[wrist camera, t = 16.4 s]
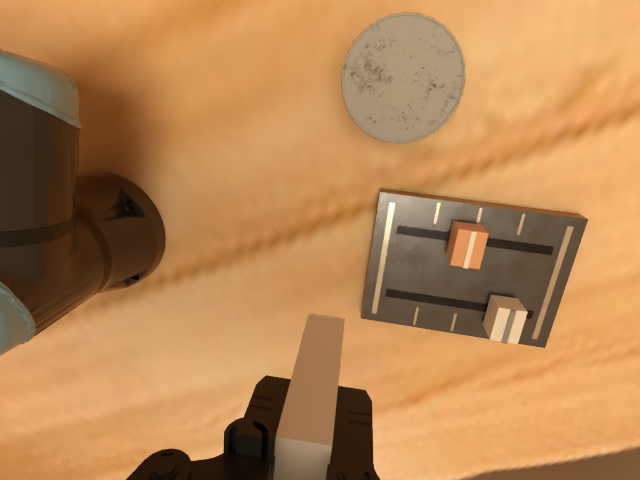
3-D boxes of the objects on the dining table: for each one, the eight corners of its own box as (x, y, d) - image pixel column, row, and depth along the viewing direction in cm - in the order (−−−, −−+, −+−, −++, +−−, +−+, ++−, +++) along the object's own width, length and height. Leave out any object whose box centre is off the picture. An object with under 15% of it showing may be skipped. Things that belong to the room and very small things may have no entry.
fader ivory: (482, 324, 47) (490, 341, 44) (490, 294, 46) (499, 308, 43) (508, 328, 47) (518, 345, 44) (517, 298, 46) (528, 313, 43)
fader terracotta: (445, 254, 45) (450, 266, 42) (453, 220, 44) (459, 230, 41) (472, 258, 45) (480, 270, 42) (481, 224, 44) (489, 234, 41)
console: (361, 310, 52) (360, 318, 50) (380, 188, 47) (380, 192, 45) (538, 338, 50) (545, 348, 48) (579, 214, 45) (588, 219, 43)
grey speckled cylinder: (405, 16, 41) (416, -19, 29) (460, 93, 42) (491, 88, 31) (333, 82, 44) (316, 73, 32) (386, 151, 45) (389, 167, 34)
